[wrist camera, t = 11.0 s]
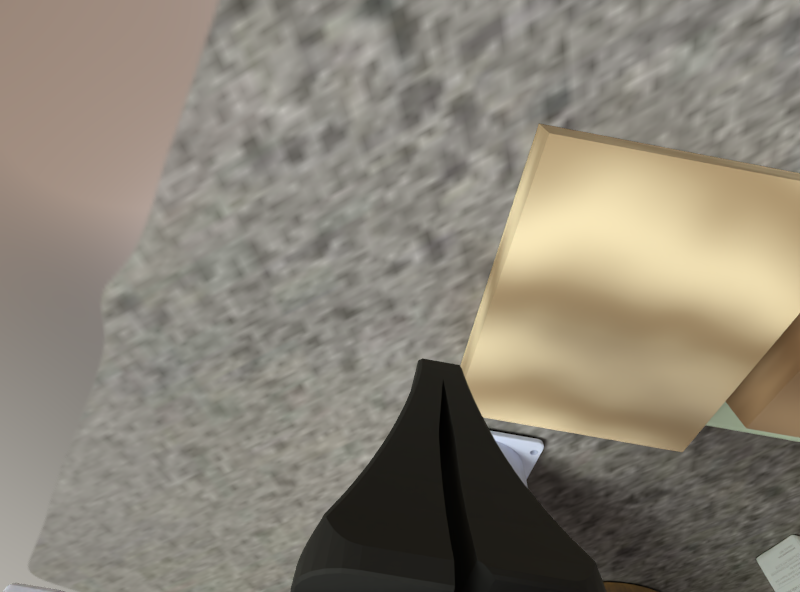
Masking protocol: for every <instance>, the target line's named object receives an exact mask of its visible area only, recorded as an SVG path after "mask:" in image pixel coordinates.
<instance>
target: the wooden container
mask: <svg viewBox="0 0 800 592" xmlns="http://www.w3.org/2000/svg"><path fill="white" fill-rule="evenodd" d="M603 583H604V586H605V589H606V592H658V591H655V590H653V589H650V588H646V587H642V586H638V585H633V584H627V583H617V582H603Z"/></svg>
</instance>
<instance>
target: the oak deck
mask: <svg viewBox="0 0 800 592" xmlns="http://www.w3.org/2000/svg"><path fill="white" fill-rule="evenodd" d="M799 313H800V173H795V172H790V171H785V170H780V169H774V168H769V167H764V166H759V165H753V164H748V163H743V162H738V161H732V160H727V159H722V158H717V157H712V156H706V155H701V154H696V153H691V152H685V151H680V150H675V149H670V148H664V147H659V146H654V145H649V144H643V143H638V142H633V141H628V140H623V139H617V138H612V137H607V136H602V135H596V134H591V133H586V132H581V131H575V130H570V129H565V128H560V127H555V126H549V125H544V124H539V125H538V128H537V131H536V134H535V137H534V140H533V144H532V147H531V150H530V153H529V156H528V159H527V162H526V165H525V168H524V171H523V174H522V177H521V181H520V184H519V187H518V190H517V193H516V196H515V199H514V202H513V205H512V208H511V211H510V214H509V217H508V221H507V224H506V227H505V230H504V233H503V236H502V239H501V242H500V245H499V248H498V251H497V254H496V258H495V261H494V264H493V267H492V270H491V273H490V276H489V279H488V282H487V285H486V288H485V291H484V295H483V298H482V301H481V304H480V307H479V310H478V313H477V316H476V319H475V322H474V325H473V328H472V331H471V335H470V338H469V341H468V344H467V347H466V350H465V353H464V356H463V359H462V362H461V365H460V367H461V368H462V371H463V373H464V376H465V379H466V381H467V384H468V386H469V389H470V391H471V393H472V396H473V398H474V400H475V402H476V404H477V407H478V409H479V411H480V413H481V415H482V417H485V418H490V419H496V420H502V421H507V422H513V423H519V424H525V425H530V426H536V427H542V428H547V429H553V430H559V431H564V432H570V433H576V434H581V435H587V436H593V437H598V438H604V439H610V440H615V441H621V442H627V443H632V444H638V445H644V446H649V447H655V448H661V449H667V450H672V451H678V452H683V451H684V450H685V449H686V448H687V446H688V445H689V444H690V443H691V442H692V440H693V439H694V438H695V437H696V436H697V434H698V433H699V432H700V431H701V430H702V429H703V427H704V426H705V425H706V424H707V423H708V421H709V420H710V419H711V418H712V417H713V415H714V414H715V413H716V412H717V411H718V410H719V408H720V407H721V406H722V405H723V404H724V402H725V401H726V400H727V399H728V398H729V397H730V395H731V394H732V393H733V392H734V391H735V389H736V388H737V387H738V386H739V385H740V383H741V382H742V381H743V380H744V379H745V378H746V376H747V375H748V374H749V373H750V372H751V370H752V369H753V368H754V367H755V366H756V364H757V363H758V362H759V361H760V360H761V359H762V357H763V356H764V355H765V354H766V353H767V351H768V350H769V349H770V348H771V347H772V345H773V344H774V343H775V342H776V341H777V340H778V338H779V337H780V336H781V335H782V334H783V332H784V331H785V330H786V329H787V328H788V327H789V325H790V324H791V323H792V322H793V321H794V319H795V318H796V317H797V316H798V315H799Z"/></svg>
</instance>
